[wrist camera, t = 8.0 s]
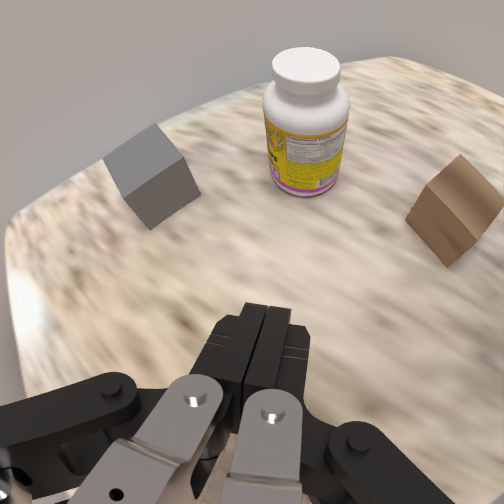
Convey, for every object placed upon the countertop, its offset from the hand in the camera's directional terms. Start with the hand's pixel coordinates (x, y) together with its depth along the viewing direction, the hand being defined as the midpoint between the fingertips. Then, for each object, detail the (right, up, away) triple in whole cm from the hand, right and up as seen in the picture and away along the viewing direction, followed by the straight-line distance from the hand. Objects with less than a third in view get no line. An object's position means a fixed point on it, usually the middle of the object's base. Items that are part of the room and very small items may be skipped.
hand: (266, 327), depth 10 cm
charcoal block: (-10, +8, +21) cm, 24 cm away
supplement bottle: (+5, +10, +20) cm, 23 cm away
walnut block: (+18, +5, +16) cm, 25 cm away
